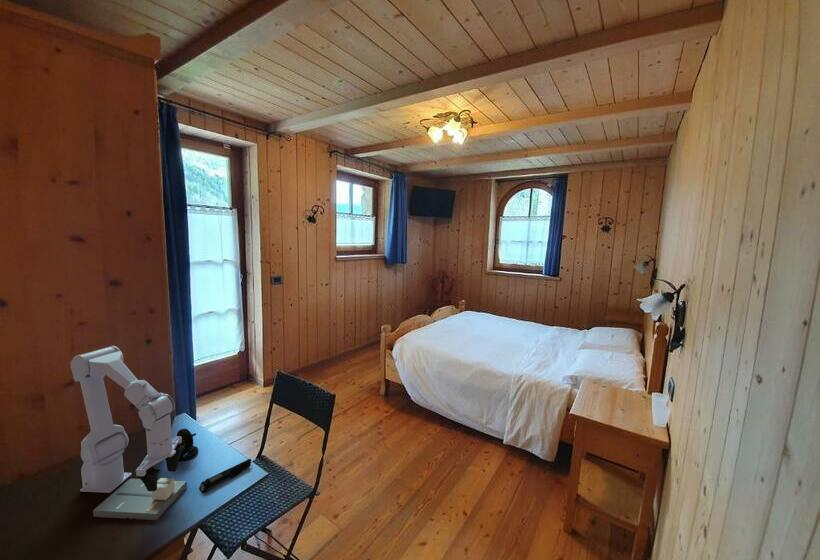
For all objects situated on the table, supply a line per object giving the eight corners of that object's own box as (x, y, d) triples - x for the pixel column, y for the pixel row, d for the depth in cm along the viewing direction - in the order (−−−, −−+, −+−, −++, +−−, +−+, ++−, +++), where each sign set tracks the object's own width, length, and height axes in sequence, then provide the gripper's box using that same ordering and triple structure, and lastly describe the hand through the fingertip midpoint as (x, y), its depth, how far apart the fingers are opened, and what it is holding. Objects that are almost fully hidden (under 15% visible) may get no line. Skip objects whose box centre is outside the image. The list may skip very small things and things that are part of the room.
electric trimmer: (253, 469, 112) (253, 460, 111) (203, 495, 100) (202, 486, 99) (248, 464, 114) (248, 455, 114) (198, 489, 102) (198, 480, 102)
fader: (152, 499, 95) (151, 486, 94) (161, 489, 98) (160, 477, 97) (166, 500, 94) (165, 487, 94) (175, 490, 98) (174, 478, 97)
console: (93, 516, 91) (92, 510, 91) (131, 484, 103) (130, 478, 103) (156, 520, 91) (156, 513, 90) (186, 486, 102) (186, 480, 102)
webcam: (168, 457, 115) (166, 431, 114) (190, 445, 122) (189, 421, 120) (180, 465, 112) (179, 438, 110) (203, 452, 118) (201, 427, 117)
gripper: (152, 455, 86) (156, 501, 88) (190, 424, 101) (192, 463, 103) (126, 454, 87) (130, 499, 88) (168, 422, 101) (170, 462, 103)
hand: (162, 480), depth 96 cm, fingers open, 7 cm apart
